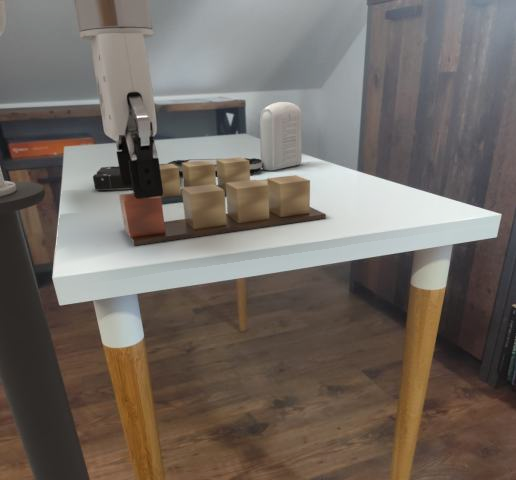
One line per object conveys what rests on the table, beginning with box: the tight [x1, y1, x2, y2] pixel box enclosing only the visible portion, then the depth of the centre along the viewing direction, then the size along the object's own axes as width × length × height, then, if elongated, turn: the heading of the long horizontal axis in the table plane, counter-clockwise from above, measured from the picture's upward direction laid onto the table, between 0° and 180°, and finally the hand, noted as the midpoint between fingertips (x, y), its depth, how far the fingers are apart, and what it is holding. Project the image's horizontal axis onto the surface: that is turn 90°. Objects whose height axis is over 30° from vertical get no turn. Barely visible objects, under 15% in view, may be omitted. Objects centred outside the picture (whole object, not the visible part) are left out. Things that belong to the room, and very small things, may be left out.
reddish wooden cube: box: [118, 192, 166, 239], centre depth 61 cm, size 4×4×4 cm
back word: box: [159, 156, 267, 205], centre depth 83 cm, size 24×7×5 cm, turn 112°
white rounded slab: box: [259, 101, 303, 172], centre depth 101 cm, size 10×4×12 cm, turn 138°
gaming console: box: [167, 157, 262, 177], centre depth 100 cm, size 19×9×3 cm, turn 85°
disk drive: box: [92, 163, 178, 191], centre depth 92 cm, size 10×3×15 cm
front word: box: [124, 174, 327, 247], centre depth 65 cm, size 26×7×5 cm, turn 112°
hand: (141, 189), depth 59 cm, fingers open, 9 cm apart
